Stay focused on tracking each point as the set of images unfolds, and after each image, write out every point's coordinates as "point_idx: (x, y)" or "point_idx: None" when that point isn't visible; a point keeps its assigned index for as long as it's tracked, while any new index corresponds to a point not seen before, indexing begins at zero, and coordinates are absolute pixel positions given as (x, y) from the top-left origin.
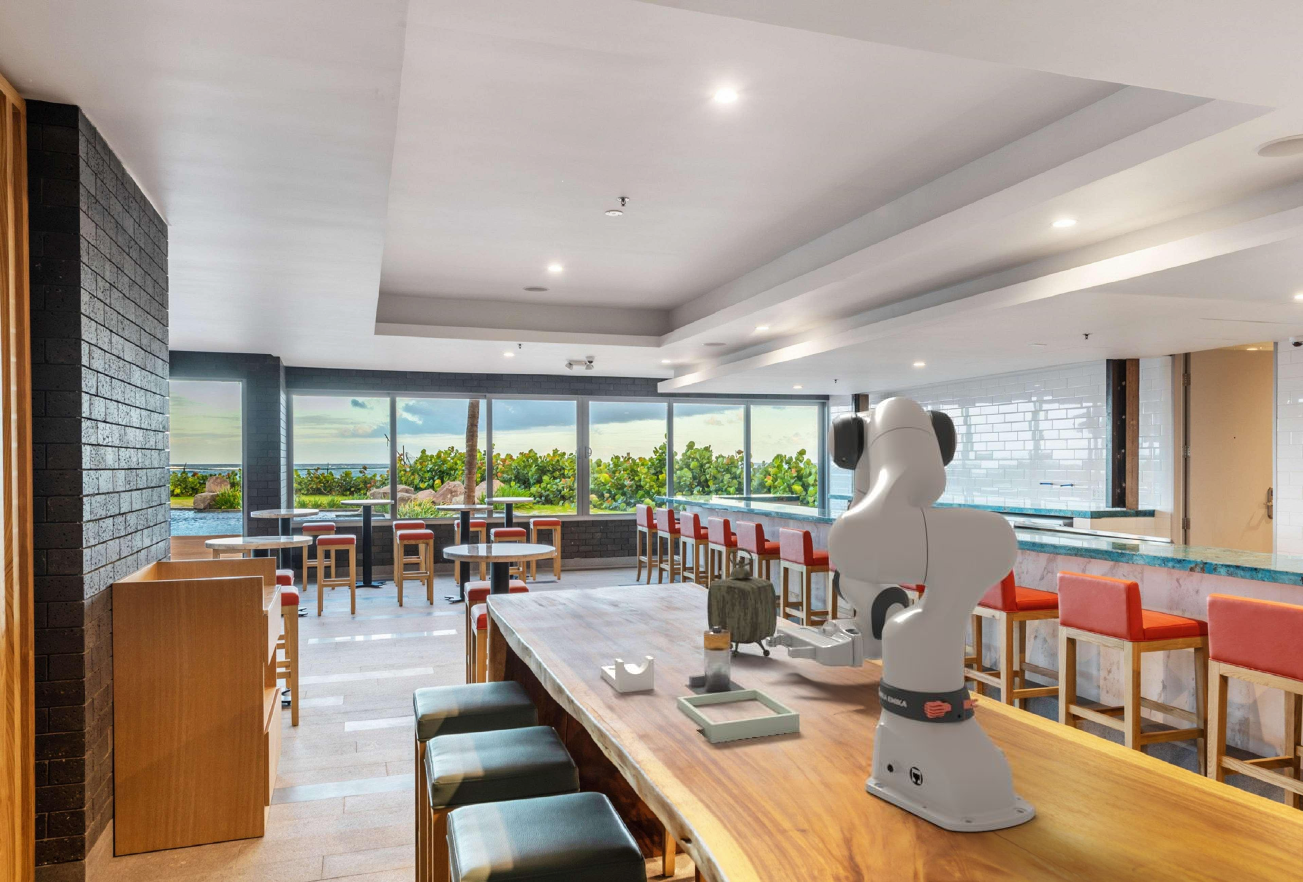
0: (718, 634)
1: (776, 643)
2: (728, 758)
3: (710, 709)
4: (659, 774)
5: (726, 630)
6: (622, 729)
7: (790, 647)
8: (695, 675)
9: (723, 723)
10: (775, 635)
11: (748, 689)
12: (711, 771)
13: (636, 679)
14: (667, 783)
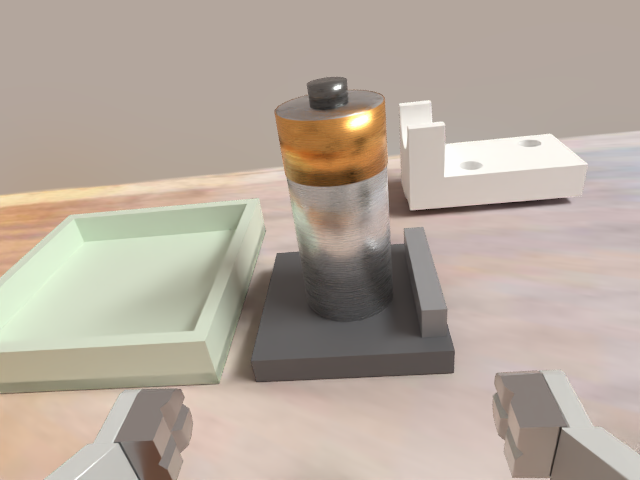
0: (286, 105)
1: (516, 459)
2: (12, 251)
3: (258, 279)
4: (62, 194)
5: (340, 116)
6: (243, 179)
7: (168, 399)
8: (422, 237)
9: (56, 227)
10: (636, 455)
11: (212, 316)
12: (5, 229)
13: (404, 158)
14: (33, 197)
